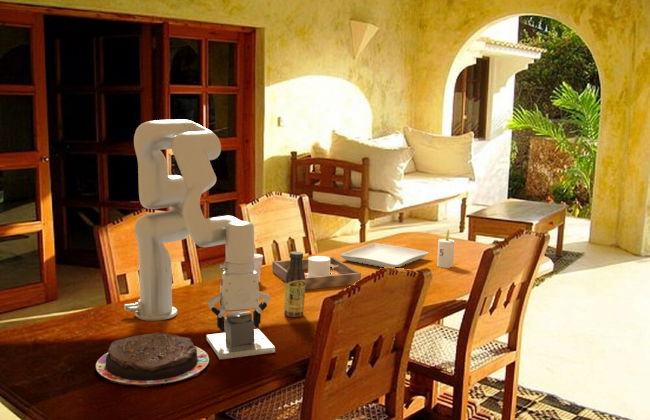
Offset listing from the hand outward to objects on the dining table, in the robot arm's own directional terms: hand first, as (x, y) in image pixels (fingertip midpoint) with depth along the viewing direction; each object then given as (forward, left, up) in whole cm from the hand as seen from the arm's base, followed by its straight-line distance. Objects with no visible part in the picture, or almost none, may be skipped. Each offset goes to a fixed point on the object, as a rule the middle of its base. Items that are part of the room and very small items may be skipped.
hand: (238, 328), depth 192 cm
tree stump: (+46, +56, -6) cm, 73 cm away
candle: (+101, +58, -5) cm, 117 cm away
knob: (0, 0, -3) cm, 3 cm away
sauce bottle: (+23, +20, -5) cm, 31 cm away
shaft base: (0, 0, -5) cm, 5 cm away
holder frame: (+45, +58, -5) cm, 73 cm away
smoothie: (+22, +60, -5) cm, 64 cm away
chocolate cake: (-24, -5, -6) cm, 25 cm away
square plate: (+82, +74, -6) cm, 111 cm away
